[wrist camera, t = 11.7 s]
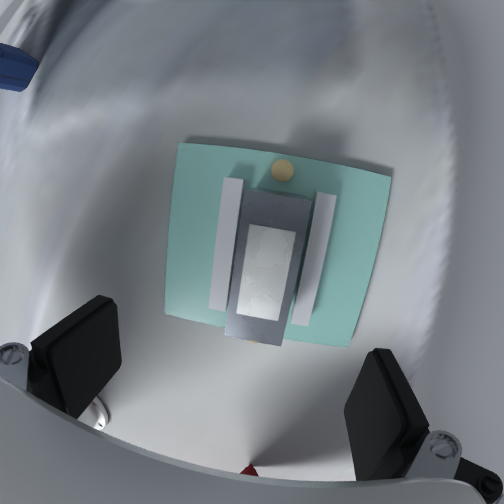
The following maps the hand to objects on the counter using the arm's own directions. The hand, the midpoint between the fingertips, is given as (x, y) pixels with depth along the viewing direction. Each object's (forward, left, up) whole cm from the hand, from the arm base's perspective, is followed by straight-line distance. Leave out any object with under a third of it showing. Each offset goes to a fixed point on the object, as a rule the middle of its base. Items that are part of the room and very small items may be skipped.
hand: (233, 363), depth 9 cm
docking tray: (0, 0, -16) cm, 16 cm away
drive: (0, 0, -15) cm, 15 cm away
